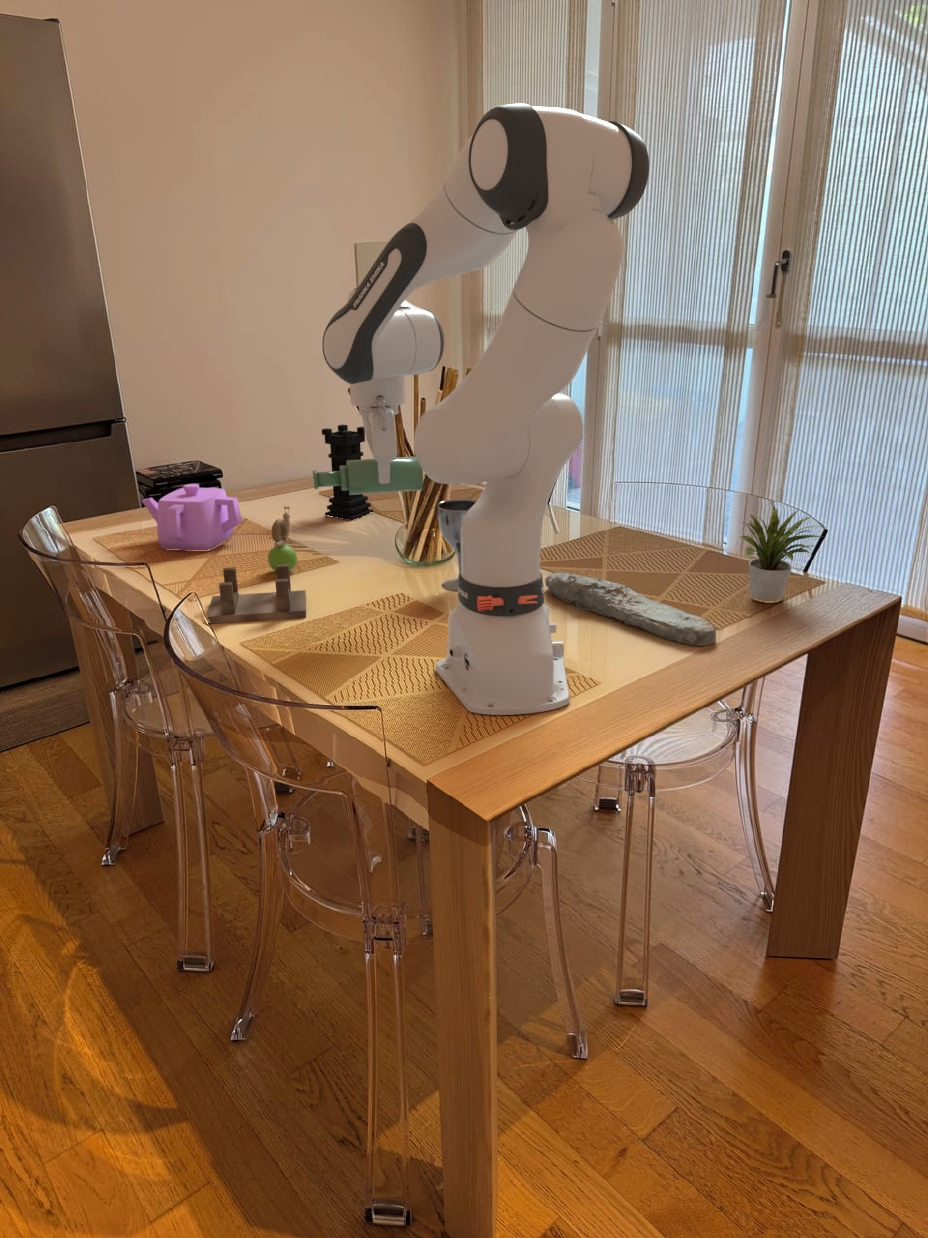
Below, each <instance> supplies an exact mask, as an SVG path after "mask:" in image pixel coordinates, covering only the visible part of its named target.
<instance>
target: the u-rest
mask: <svg viewBox="0 0 928 1238" xmlns="http://www.w3.org/2000/svg"><path fill="white" fill-rule="evenodd" d="M222 572H223V573H222V574H223V581H224V582H219V584H218V588H219V595H212V596H211V601H210V604H209V607H208V611H207V614H206V618H207V617H208V619H209V621H210V624H209V625H212V624H228V623H241V622H254V621H255V622H256V621H268V620H269V621H270V620H286V619H299V618H300V619H301V618H307V593H306V590H304V589H302V590H292V588H291V575H290V571H289V564H280V565H277V571H276V573H277V574H276V575H277V578H276V579H275V583H274V584H275V591H274V592H272V591H271V592H260V593H259V592H256V593H242V594H241V593H240V594H239V584H238V576H237V567H236V566H232V567H231V566H230V567H223V570H222Z"/></svg>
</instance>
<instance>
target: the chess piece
mask: <svg viewBox="0 0 928 1238" xmlns="http://www.w3.org/2000/svg"><path fill="white" fill-rule="evenodd" d="M321 435H322V436H324V444H326V445H329V447H330V448H329V449H330V453H328V459H329V458H330V460H331V462H330V463H331V471H340V466H346V465H347V460H362V456H364V452H363V451H361V449H362V448H361V444H362V443H365V442H366V435H365V430H364V426H359V427H356V431H352V430H349V427H348V424H339V425H337V431H333V429H332V428H328V427H327V428H322V429H321ZM332 491H333V495H332V496H333V497H331V498H328V503H330V504H329V505H326V510H328V511H326V512H324V516H325V515H329V516H333V517H338V518H337V519H339V518H343V519H342V520H344V519H349V520H348V521H350V520H353V521H355V520H354V519H356V520H358V519H361V518H363V517H362V516H364V515H366V516H368V515H367V514H369V513H370V512H374V509H373V508H370V507H371V506H372V503H371V502H367V501H368V500H369V497H368V496H366V495H364V494H356V495H350V494H349V490H342V487H341V486H332ZM369 515H370V514H369ZM333 517H332V518H333ZM360 517H361V518H360ZM364 517H365V516H364ZM357 518H358V519H357Z"/></svg>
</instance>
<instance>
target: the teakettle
mask: <svg viewBox="0 0 928 1238" xmlns="http://www.w3.org/2000/svg"><path fill="white" fill-rule="evenodd" d="M227 495H228V494H227V493H226V489H224V488H219V487H215V486H214V487H211V486H210V487H200V485H199V483H188V484H185V485H183V486H182V487H180V488H177V489H176V490H174V491H172V492H170V493H168V494H166V495H164V496H162V497H161V498H159V500H158V502H157V501H156V500H155V499H154V498H153V497H149V498H148V497H147V498H144V499H142V500H141V502H142V504H143V505H144V506H145V508H146V510H147V511H148V512H149V514H150V515H151V516H152V518H153V519H154V521H155V522H156V528H157V529H156V530H157V533H156V534H157V540H158V543H159V545H160V548H161V549H162V548H163V549H179V550H208V549H212V548H214V547H216V546H217V545H219V544H220V543H222V542H224V541H225V540H226V539H227V538H229V537H230V536H231V535H232V536H233V534H234V529H235V528H236V527H238V526H239V525H241V524H243V519H242V515H241V509H240V505H239V500H238V497H234V496H233V497H231V496H227ZM232 533H233V534H232ZM163 549H162V550H163Z"/></svg>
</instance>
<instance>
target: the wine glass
mask: <svg viewBox="0 0 928 1238" xmlns="http://www.w3.org/2000/svg"><path fill="white" fill-rule="evenodd" d="M476 502H477V500H475V499H467V498H466V499H465V498H456V499H448V500H447V499H446V500H443V501H440V502H439V503H437V520H438V525H439V529H440V534H441V535H442V537H443V539H444V540H445V541H446V543H448V545H450V547H452V549H453V551H454V552H455V554H456V557H457V563H458V574H459V573H460V572H461V523H462V520H463V518H464V516H465V514H466V513H467V511H468V510H469V509H470V508H471V507H472V506H473V505H474V504H475V503H476ZM457 583H458V577H457V578H456V577H455V578H450V579H449V578H448V579H447V580H444V581H443V582H442V583H441V587H442V588H443V589H444V590H448V591H451V592H458V589H457Z"/></svg>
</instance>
